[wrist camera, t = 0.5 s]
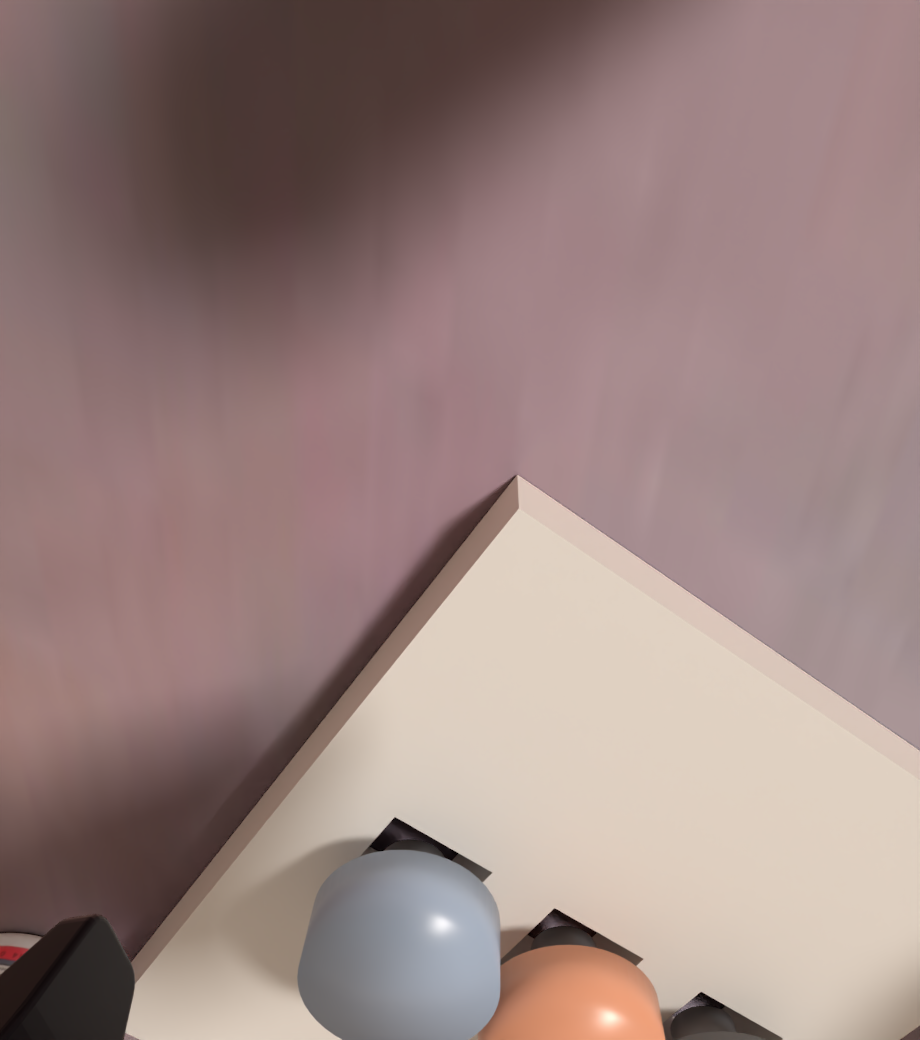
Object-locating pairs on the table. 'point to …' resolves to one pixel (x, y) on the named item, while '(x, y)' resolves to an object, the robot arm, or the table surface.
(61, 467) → the table surface
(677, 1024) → the charcoal button
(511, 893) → the panel
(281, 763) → the table surface
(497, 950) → the slate button
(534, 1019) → the terracotta button
